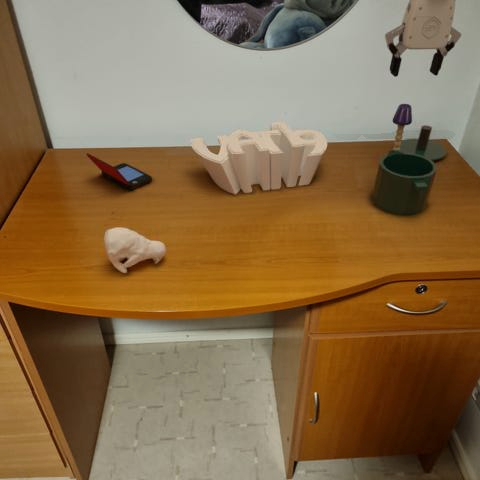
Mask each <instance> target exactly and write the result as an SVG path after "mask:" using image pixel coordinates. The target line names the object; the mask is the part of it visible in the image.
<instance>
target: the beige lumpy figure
mask: <svg viewBox="0 0 480 480" xmlns="http://www.w3.org/2000/svg"><path fill="white" fill-rule="evenodd" d="M103 245H104V247H105V249H104V250H105V251H106V255H107V258H108V260H109V261H110V262H111V264H112V265H113V267H114V268H115V269H116V270H117V271H119V272H120V273H122V274H127V273H128V269H127V268H130V267H133V266H134V265H136V264H138V263H140V262H143V261H146V260H148V259H149V260H150V259H152V260H153V261H154V264H155V265H157V264H158V263H159V262H160V261H161V260H162V259H163V258H164V257H165V255H166V254H167V247H166V245H165V244H164V242H162V241H159V240H150V239H149V238H146V237H145V236H144V235H141V234H139V233H138V232H136V231H134V230H132V229H129V228H126V227H112V228H110V229H106V230H105V233H104V237H103ZM125 259H127V261H125V262H124V263H123V262H121V261H123V260H125Z"/></svg>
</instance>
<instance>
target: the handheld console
mask: <svg viewBox="0 0 480 480" xmlns="http://www.w3.org/2000/svg"><path fill="white" fill-rule="evenodd" d="M86 156H87V157H88V159H89V160H90V161H91V162H92V163H93V164H94V165H95V166H96V167H97V168H98V169H99V170H100V171H101V175H102V176H103V177H105V178H107V179H109V180H111V181H112V182H115V183H118V184H119V185H120V186H121V187H123V188H125V189H127V190H128V191H133V190H135V189H138V188H139V187H141V186H144V185H146V184H148V183H151V182H152V181H153V177H152V176H151V175H149V174H148V173H147V172H143V171H142V170H140V169H139V168H136V167H134V166H132V165H130V164H128V163H126V162H122V163H120V164H117V165H114V166H113V165H111V164H109V163H107V162H106V161H104V160H102V159H99V158H98V157H95V156H94V155H92V154H90V153H88V152H87V153H86Z"/></svg>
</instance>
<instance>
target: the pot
mask: <svg viewBox="0 0 480 480" xmlns="http://www.w3.org/2000/svg"><path fill="white" fill-rule="evenodd" d="M437 169H438V168H437V165H436V163H435V161H432V160H430V159H428V158H426V157H424V156H421V155H417V154H414V153H405V152H399V151H398V150H393V149H392V150H388V152H387V154H384V155H383V156H382V157H381V158H380V159H379V164H378V168H377V173H376V177H375V182H374V186H373V191H372V195H371V200H372V203H373V205H374V206H376V208H377V209H379V210H381V211H383V212H385V213H388V214H391V215H396V216H413V215H416V214H419V213H421V212H422V211H424V210H425V209H426V206H427V203H428V200H429V197H430V194H431V190H432V188H433V184H434V181H435V177H436V174H437Z"/></svg>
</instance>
